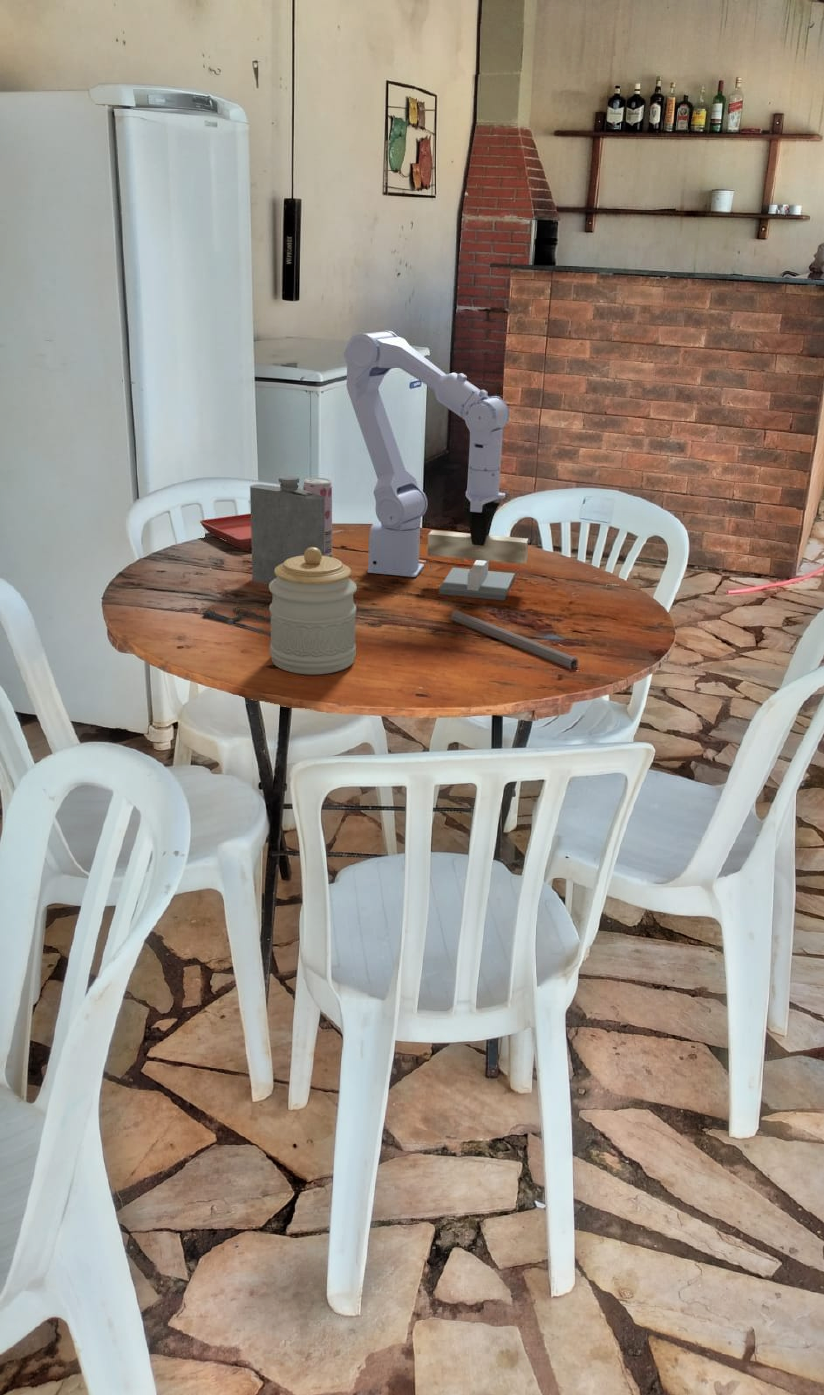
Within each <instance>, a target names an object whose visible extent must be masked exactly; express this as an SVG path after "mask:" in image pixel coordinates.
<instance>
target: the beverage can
mask: <svg viewBox="0 0 824 1395" xmlns="http://www.w3.org/2000/svg"><path fill="white" fill-rule="evenodd" d="M302 486H303V487H302V488H303V489H302V490H305V491H309V492H312V493H314V494H317V495H321V496H324V497H325V528H324V556H328V557H331V556H332V554H333V485H332V480H330V479H329V478H325V477H324V478H323V477H310V478H306V479H304V480H303V485H302Z"/></svg>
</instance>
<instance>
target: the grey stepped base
mask: <svg viewBox="0 0 824 1395" xmlns="http://www.w3.org/2000/svg"><path fill="white" fill-rule="evenodd" d="M489 562H490V561H483V560H474V563H473V564H472V566H471V568H461V567H452V568H451V569H450V571H449V573H447V575H446V577H445V578H444V580H443V582H442V584H441V585H440V586H439V588H438V595H444V596H445V595H446V596H456V597H464V598H465V597H466V598H473V599H474V598H475V599H483V600H484V599H485V600H497V601H505V599H506V598H507V596H508V593H509V591H510V589H511V587H512V584H513V582H514V580H515V577H516V576H515V575H516V574H515V573H513V572H504V571H491V570H489Z"/></svg>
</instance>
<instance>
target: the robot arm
mask: <svg viewBox="0 0 824 1395" xmlns="http://www.w3.org/2000/svg"><path fill="white" fill-rule="evenodd" d="M343 357H344V360H345V363H346V389H347V394H348V395H349V399H350V401H351V405H352V408H353V410H354V414H355V417H356V420H357V422H358V426H359V429H360V431H361V434H362V437H363V440H364V444H365V446H366V449H367V451H368V455H369V457H370V460H371V463H372V467H373V470H374V472H375V475H376V478H377V482H376V484H375V487H374V489H373V496H374V499H375V509H374V510H375V514H376V518H377V519H378V521H379V523H378V522H374V523H372V525H371V526H370V529H369V534H368V536H369V537H368V567H367V568H368V569H367V573H369V574H377V575H388V576H398V577H408V578H415V577H418V575H419V573H420V572H421V571H422V569H423V568H424V567H425V564H424V563H421V562H420V543H421V542H420V538H421V537H420V536H421V522H422V521H421V520H422V517H423V516H424V515H425V514H426V511H427V510H428V497H427V495H426V493H425V492H424V491H423V490H422V489H421V487H420V486H419V484H418V482H417V478H415V476H413V474H411V473H410V472H408V471H407V470H406V467H405V465H404V464H405V463H404V461H403V458H402V456H401V453H400V450H399V447H398V444H397V441H396V439H395V434H394V432H393V430H392V429H393V428H392V426H391V423H390V420H389V417H388V414H387V412H386V408H385V405H384V402H383V400H382V397H381V394H380V390H379V388H380V387H381V386H380V385H381V384H382V382H383V380H384V377H385V376H386V375H387V374H388V373H389V372H390V371H391V369H400V370H402V371H404V372H405V373H407V374H409V375H410V376H412V377H414V379H417V380H418V381H419V382H421V383H423V384H424V385H425V386H427V387H428V388H431V389H432V390H434V392H435V399H436V400H437V402H439V403H440V404H442V405H443V406H445V407H446V408H447V409H448V410H449V411H451V412H452V413H454V414H455V415H458V417H460V418H461V419H462V420H464V422H465V425H466V427H467V428H468V431H469V450H468V451H469V453H468V467H467V468H468V469H467V470H468V471H467V485H466V486H467V487H466V491H465V497H466V498H467V499H468V501H467V502H468V504H464V506H463V513H464V515H465V516H466V519H467V523H468V527H469V534H471V540H472V544H473V545H481V546H484V543H485V540H486V537H487V535H490V531H491V527H492V522H493V520H494V516H495V514H496V511H497V509H498V507H499V506H500V504H501V500H504V499H505V498H506V492H500V481H501V480H500V479H501V467H502V452H503V436H504V435H503V434H504V427H505V426H506V425H508V422H509V419H510V410H509V407H508V404H507V402H506V401H505V400H503V399H502V397H500V396H497V395H492V396H488V391H487V390H485V389H480V388H478V387H477V386H475V385H474V384H472V383H471V382H470V381H468V380H467V378H468V376H467V375H466V374H464V373H463V372H461V373H457V372H451V373H445V372H444V371H442V370H441V369H440V368H439V367H438V366H436V364H433V363H432V362H431V361H430V360H428V359H427V358H426V357H425V356H423V355H422V353H420V352H418V351H417V350H416V349H415V348H414V347H412V346H411V345H410V344H409V343H408V341H407V340H406V339H405V338H404V337H401V336H398V335H397V334H396V333H395V332H393V331H392V330H382V331H377V332H367V333H364V332H359V333H356V334H355V335H353V336H352V337H351V338H349V341H348V343H347V345H346V347H345V349H344V352H343ZM499 499H500V500H499Z"/></svg>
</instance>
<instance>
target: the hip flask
mask: <svg viewBox="0 0 824 1395" xmlns="http://www.w3.org/2000/svg"><path fill="white" fill-rule="evenodd" d="M278 483H280V485H279V486H277V485H276V486H275V485H269V484H261V483H257V484H251V485H249V490H250V491H249V495H250V497H249V499H250V500H249V502H250V514H251V542H252V549H251V570H252V571H251V574H252V575H251V576H252V577H251V578H252V582H253V583H259V584H264V585H269V584H270V583H271V581H273V580H274V579H275V578H277V576H276V575H275V573H274V570H275V568H276V567H277V566H279V565H280V564H282V563H284V562H285V561H286V560H287V559H289V558H292V557H296V556H304V553H305V551H306V550H307V549H308V548H310V547H316V548H318V549H319V550H320V551H321V554H322V556H324V528H325V497H324V496H321V495H317V494H314V493H312V492H309V491H305V490H303V489H302V488H299V483H300V477H299V476H296V475H281V476H278Z"/></svg>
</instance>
